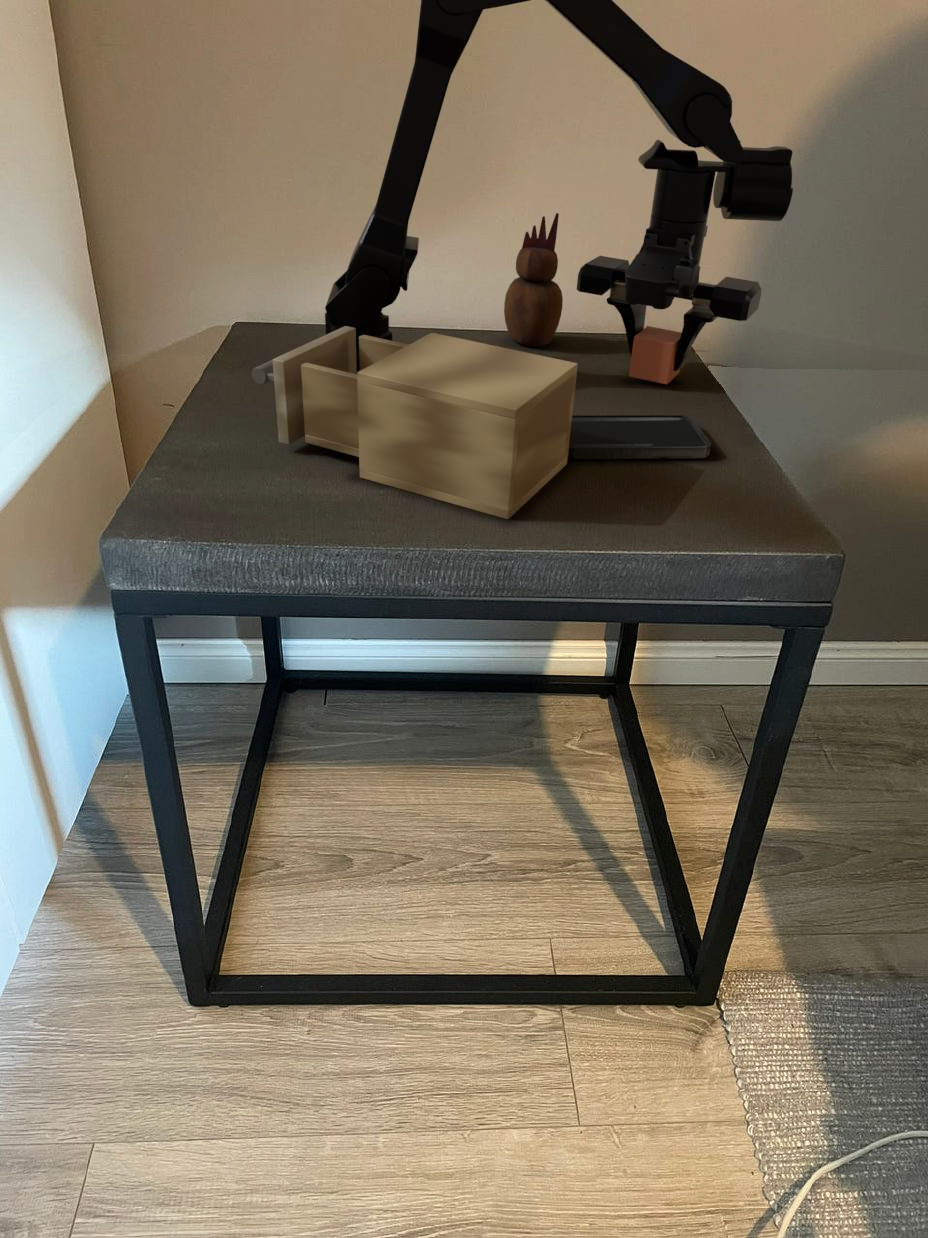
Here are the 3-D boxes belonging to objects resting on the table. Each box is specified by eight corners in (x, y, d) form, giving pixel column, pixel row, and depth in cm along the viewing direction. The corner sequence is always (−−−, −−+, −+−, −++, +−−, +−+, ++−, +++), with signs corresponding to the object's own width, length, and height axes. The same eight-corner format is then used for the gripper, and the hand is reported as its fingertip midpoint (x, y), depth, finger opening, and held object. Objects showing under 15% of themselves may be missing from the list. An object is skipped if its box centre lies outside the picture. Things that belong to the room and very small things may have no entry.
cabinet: (359, 477, 84) (356, 372, 78) (429, 429, 93) (431, 332, 88) (508, 519, 78) (516, 409, 73) (566, 464, 88) (578, 363, 82)
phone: (543, 415, 94) (689, 414, 96) (542, 426, 95) (688, 425, 96) (558, 448, 88) (714, 447, 89) (556, 459, 88) (712, 458, 90)
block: (628, 376, 106) (634, 336, 103) (641, 364, 109) (647, 325, 106) (667, 384, 104) (673, 344, 101) (679, 372, 107) (686, 333, 105)
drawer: (241, 431, 89) (233, 349, 84) (312, 393, 97) (308, 317, 93) (404, 477, 82) (405, 391, 78) (466, 432, 91) (469, 352, 86)
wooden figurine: (565, 342, 117) (579, 212, 108) (543, 354, 113) (555, 220, 104) (518, 330, 120) (527, 203, 111) (494, 342, 115) (502, 211, 107)
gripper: (564, 217, 95) (549, 369, 103) (750, 246, 88) (717, 406, 97) (604, 199, 103) (587, 342, 112) (777, 224, 96) (744, 374, 105)
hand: (655, 365), depth 106 cm, fingers closed on block, 4 cm apart
